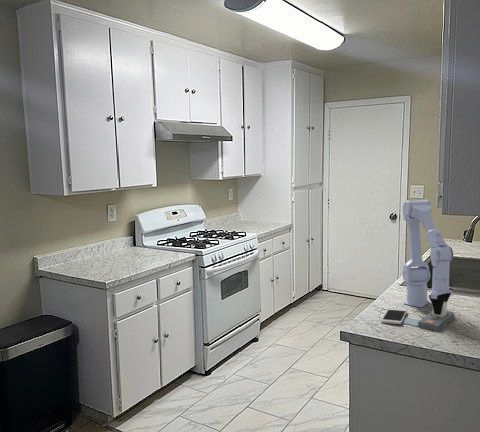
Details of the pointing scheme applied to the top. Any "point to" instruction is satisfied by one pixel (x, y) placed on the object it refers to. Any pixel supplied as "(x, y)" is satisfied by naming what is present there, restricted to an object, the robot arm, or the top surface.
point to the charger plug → (443, 312)
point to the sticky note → (410, 321)
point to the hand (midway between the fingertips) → (439, 312)
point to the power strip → (435, 321)
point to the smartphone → (394, 316)
